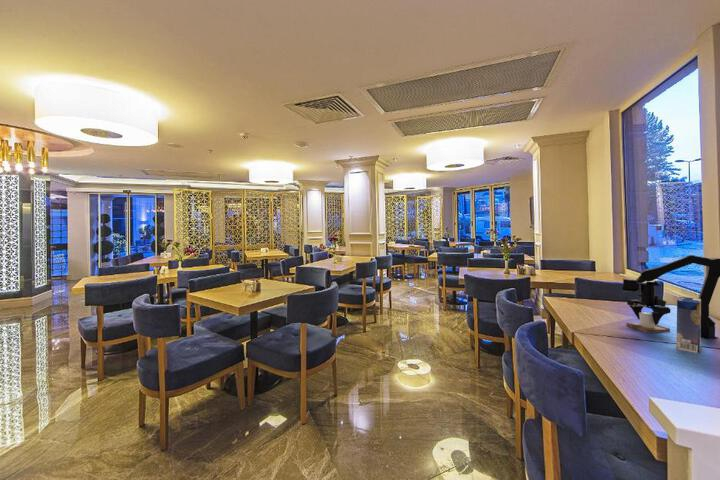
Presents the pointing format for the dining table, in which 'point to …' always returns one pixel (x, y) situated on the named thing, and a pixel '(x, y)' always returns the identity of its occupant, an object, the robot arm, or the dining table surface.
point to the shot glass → (646, 320)
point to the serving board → (648, 330)
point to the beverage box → (688, 324)
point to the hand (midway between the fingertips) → (647, 321)
